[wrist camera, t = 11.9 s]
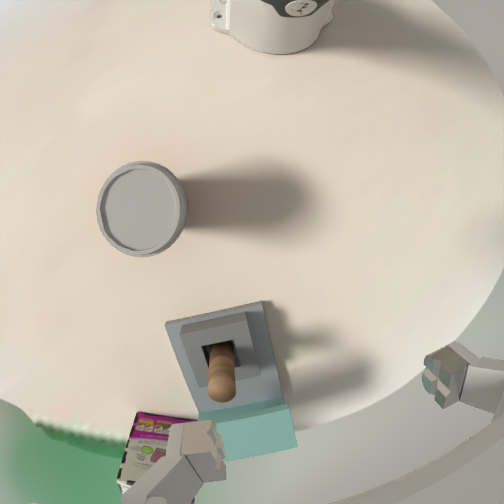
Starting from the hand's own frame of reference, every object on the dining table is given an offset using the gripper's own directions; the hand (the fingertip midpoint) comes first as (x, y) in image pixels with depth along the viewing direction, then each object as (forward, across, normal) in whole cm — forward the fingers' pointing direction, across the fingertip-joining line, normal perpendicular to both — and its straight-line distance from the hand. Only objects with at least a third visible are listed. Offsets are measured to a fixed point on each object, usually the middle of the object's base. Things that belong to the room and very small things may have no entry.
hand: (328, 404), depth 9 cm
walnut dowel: (+30, +7, +14) cm, 34 cm away
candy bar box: (+31, +21, +29) cm, 47 cm away
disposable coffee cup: (+32, +10, -7) cm, 34 cm away
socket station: (+31, +7, +18) cm, 36 cm away
